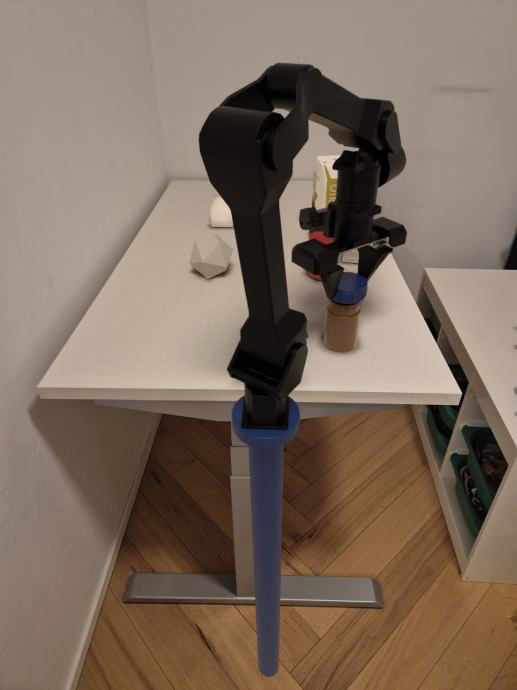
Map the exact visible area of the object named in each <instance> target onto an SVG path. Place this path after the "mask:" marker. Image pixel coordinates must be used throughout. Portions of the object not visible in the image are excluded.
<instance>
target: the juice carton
mask: <svg viewBox="0 0 517 690" xmlns="http://www.w3.org/2000/svg"><path fill="white" fill-rule="evenodd" d="M340 156H341V154H340V155H339V154H338V155H334V154H333V155H332V154H331V155H318V156H317V155H316V157H315V162H314V166H313V174H312V175H313V176H312V192H311V207H315V209H316V210H319V209H322V208H326V207H328V204H329V202H333V201H335V198H336V187H337V175H338V171H337V170H333V169H332V166H333V164H334V162H335V160H336V159H338V158H339V157H340Z"/></svg>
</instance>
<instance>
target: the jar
mask: <svg viewBox="0 0 517 690" xmlns="http://www.w3.org/2000/svg"><path fill="white" fill-rule="evenodd" d="M361 303H362V301H360V302H358V303H352V304H344V303H339V302H335V301H333V300H332V301H330V300H329V299H328V304H327V305H326V310H325V322H324V332H323V333H324V334H323V344H324V346H325V347H326V348H327V349H329V350H330V351H333V352H336V353H337V352H338V353H347V352H351V351H353V350H354V349H355V348H356V346H357V343H358V336H359V327H360V320H361V312H362V309H361V306H360V305H361Z"/></svg>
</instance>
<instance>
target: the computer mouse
mask: <svg viewBox="0 0 517 690" xmlns="http://www.w3.org/2000/svg"><path fill="white" fill-rule="evenodd" d="M209 217H210V218H209V219H210V226H211V227H213V228H234V227H233V221H232V216H231V211H230V208H229V207H228V205H227V204H226V203H225V201H224V200H223V199H222V198H221V196H220V195H218V196H217V197H215V198H214V199H213V201H212V203H211V206H210V211H209Z"/></svg>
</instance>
